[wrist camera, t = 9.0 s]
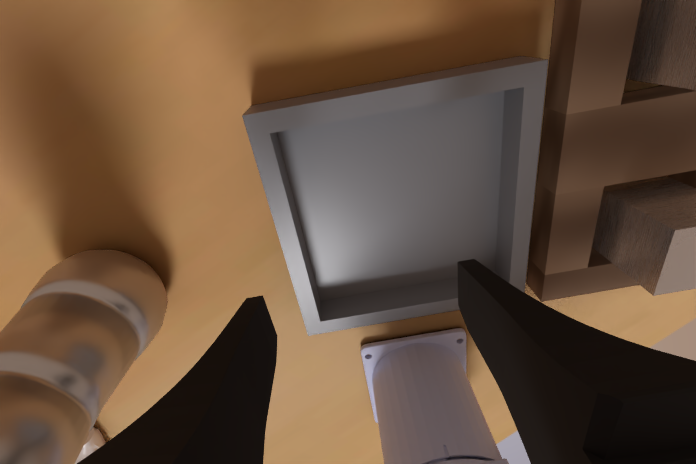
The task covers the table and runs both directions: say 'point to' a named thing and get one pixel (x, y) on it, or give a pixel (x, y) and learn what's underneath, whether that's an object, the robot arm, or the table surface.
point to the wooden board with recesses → (598, 143)
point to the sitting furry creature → (91, 444)
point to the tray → (402, 188)
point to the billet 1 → (665, 44)
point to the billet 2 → (650, 232)
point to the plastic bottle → (73, 352)
